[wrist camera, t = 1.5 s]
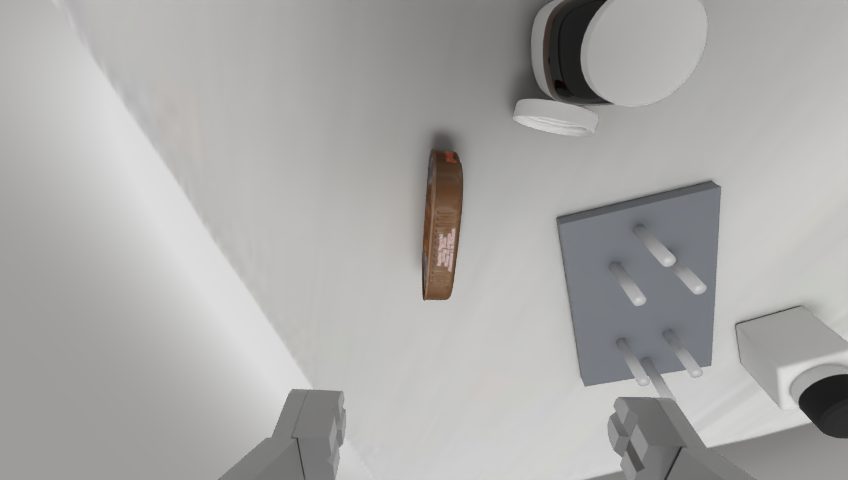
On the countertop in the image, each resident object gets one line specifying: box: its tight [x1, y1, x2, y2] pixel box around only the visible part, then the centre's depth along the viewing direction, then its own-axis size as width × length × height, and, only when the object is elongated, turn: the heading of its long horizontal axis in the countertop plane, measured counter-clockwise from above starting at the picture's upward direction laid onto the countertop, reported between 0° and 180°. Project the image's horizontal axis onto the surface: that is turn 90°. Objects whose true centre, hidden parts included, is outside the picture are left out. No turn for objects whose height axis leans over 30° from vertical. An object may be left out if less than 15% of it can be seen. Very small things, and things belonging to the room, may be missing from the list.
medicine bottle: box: [736, 307, 848, 438], centre depth 43 cm, size 7×7×12 cm
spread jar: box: [513, 0, 708, 136], centre depth 30 cm, size 12×11×12 cm
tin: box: [422, 149, 463, 301], centre depth 38 cm, size 15×3×8 cm, turn 176°
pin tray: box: [557, 181, 721, 402], centre depth 42 cm, size 15×24×8 cm, turn 17°
